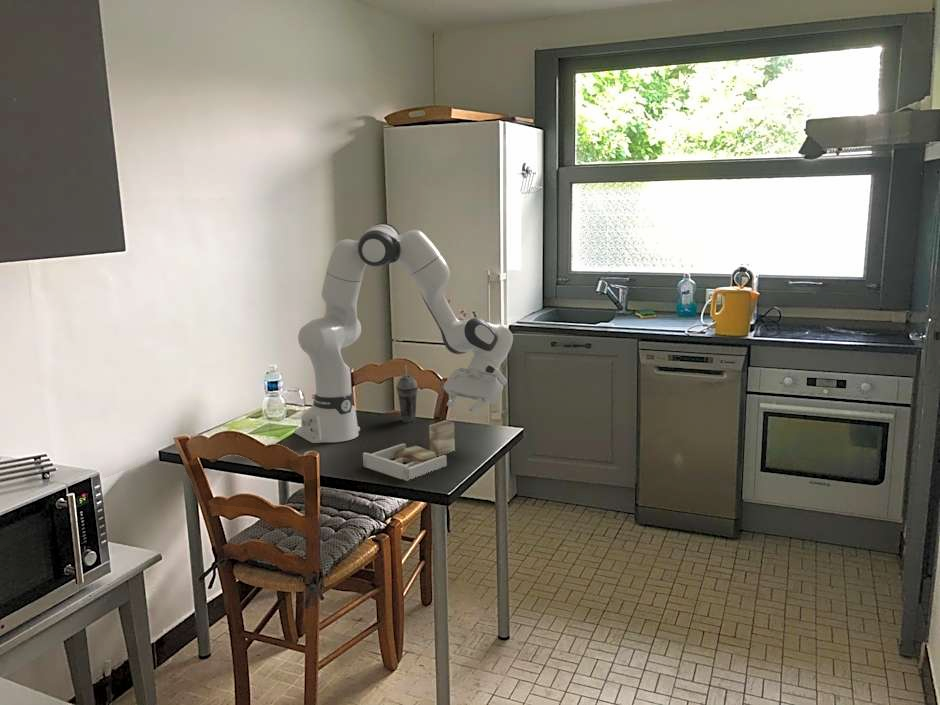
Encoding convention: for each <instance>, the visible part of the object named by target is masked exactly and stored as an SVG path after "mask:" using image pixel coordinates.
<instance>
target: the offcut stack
mask: <svg viewBox="0 0 940 705" xmlns="http://www.w3.org/2000/svg"><path fill="white" fill-rule="evenodd" d="M436 457H437V455H435V452H433V451H430V449H427V448H425V447H421V446H418V445H412V446H410V447H407V446H406V448H404V449H401V450H398V451H396V455H395V458H394V460H396V459H399V458H403V463H406V464H408V463H411V462H415V465H417V464H420V463H423V462H425V461H428V460H431V459H434V458H436Z"/></svg>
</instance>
